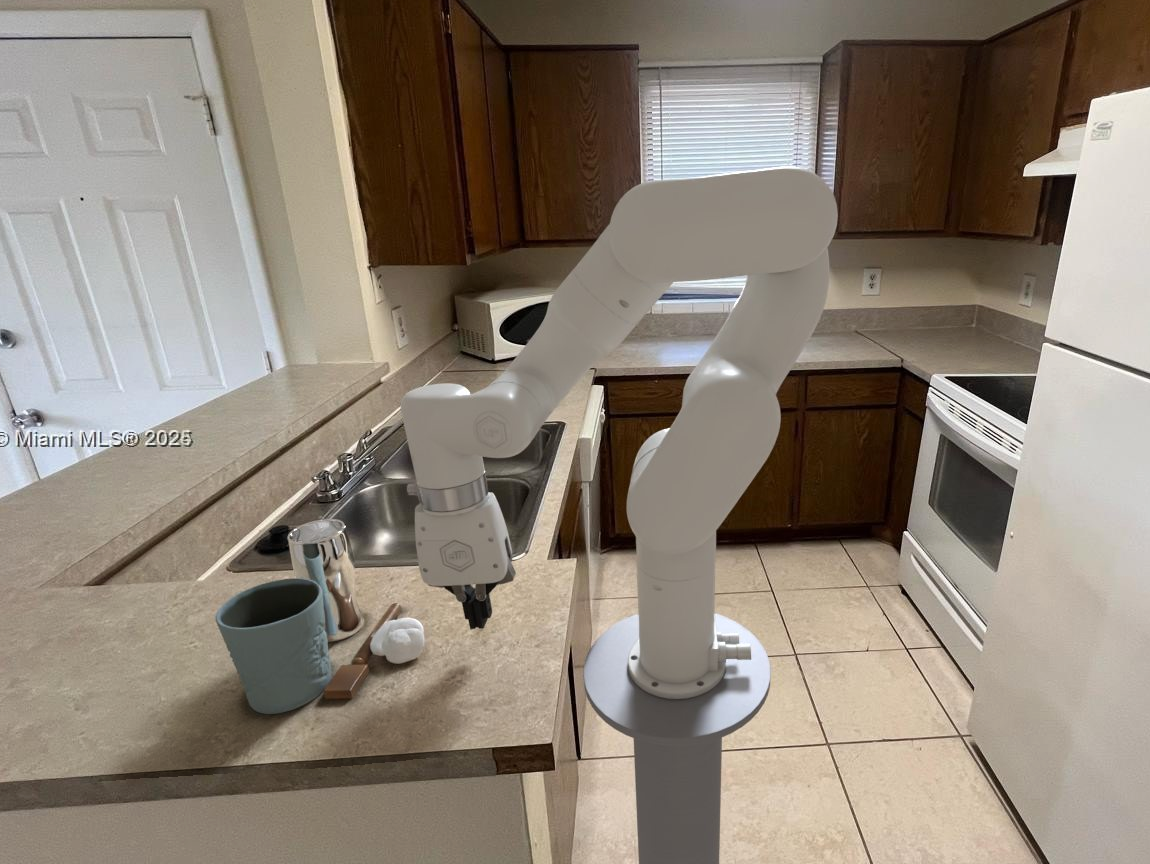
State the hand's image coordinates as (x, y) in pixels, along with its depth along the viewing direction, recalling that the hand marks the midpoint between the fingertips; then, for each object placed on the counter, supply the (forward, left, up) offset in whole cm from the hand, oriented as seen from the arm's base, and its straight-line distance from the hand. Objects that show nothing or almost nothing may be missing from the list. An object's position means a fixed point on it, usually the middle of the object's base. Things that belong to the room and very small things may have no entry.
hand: (480, 621), depth 77 cm
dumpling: (+11, 0, -5) cm, 12 cm away
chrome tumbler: (+21, -5, -5) cm, 22 cm away
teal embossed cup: (+21, +6, -5) cm, 22 cm away
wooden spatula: (+15, 0, -4) cm, 15 cm away
